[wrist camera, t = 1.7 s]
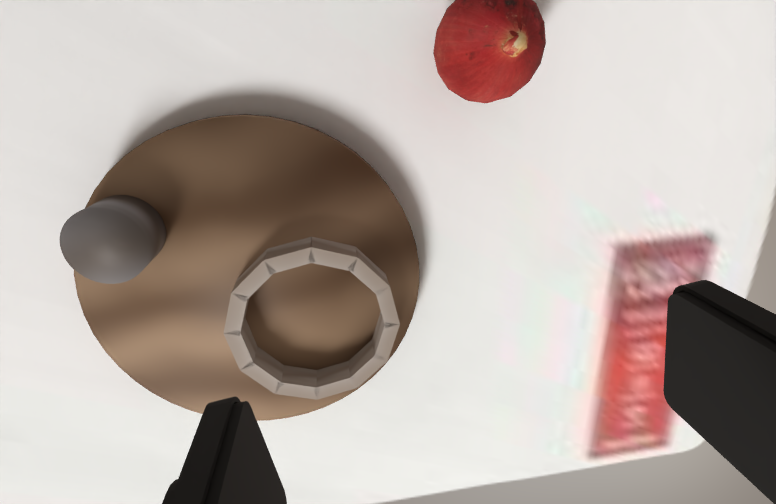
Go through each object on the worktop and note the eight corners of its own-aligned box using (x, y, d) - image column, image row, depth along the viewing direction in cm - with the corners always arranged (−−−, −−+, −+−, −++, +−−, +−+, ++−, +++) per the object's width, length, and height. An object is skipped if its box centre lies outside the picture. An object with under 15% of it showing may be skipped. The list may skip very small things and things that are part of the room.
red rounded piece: (429, -11, 26) (473, -48, 18) (520, 5, 27) (596, -24, 19) (415, 94, 28) (449, 98, 20) (500, 105, 29) (562, 112, 21)
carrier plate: (15, 167, 26) (-43, 183, 22) (373, 74, 27) (383, 73, 23) (171, 439, 34) (150, 489, 30) (440, 361, 35) (456, 398, 31)
